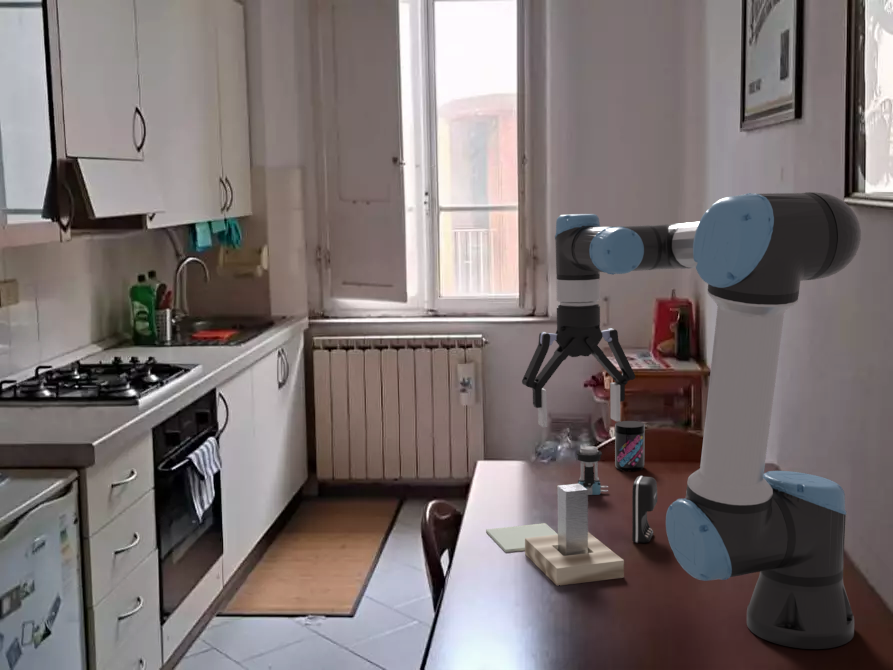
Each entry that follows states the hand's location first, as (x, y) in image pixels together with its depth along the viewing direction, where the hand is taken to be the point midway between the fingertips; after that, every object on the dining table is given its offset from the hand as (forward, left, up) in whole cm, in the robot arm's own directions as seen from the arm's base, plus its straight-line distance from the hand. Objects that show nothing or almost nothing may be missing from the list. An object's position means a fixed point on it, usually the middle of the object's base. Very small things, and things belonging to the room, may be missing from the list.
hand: (579, 423), depth 190 cm
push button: (+34, -16, -24) cm, 45 cm away
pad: (+11, +7, -24) cm, 27 cm away
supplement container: (+50, -32, -24) cm, 64 cm away
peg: (-5, +4, -24) cm, 25 cm away
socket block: (-5, +4, -24) cm, 25 cm away
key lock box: (+4, -14, -24) cm, 28 cm away
